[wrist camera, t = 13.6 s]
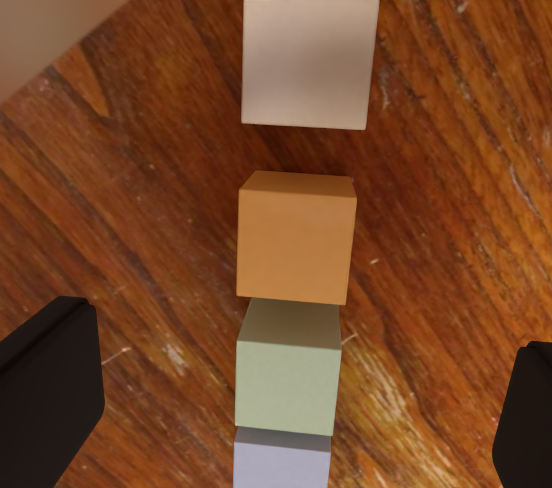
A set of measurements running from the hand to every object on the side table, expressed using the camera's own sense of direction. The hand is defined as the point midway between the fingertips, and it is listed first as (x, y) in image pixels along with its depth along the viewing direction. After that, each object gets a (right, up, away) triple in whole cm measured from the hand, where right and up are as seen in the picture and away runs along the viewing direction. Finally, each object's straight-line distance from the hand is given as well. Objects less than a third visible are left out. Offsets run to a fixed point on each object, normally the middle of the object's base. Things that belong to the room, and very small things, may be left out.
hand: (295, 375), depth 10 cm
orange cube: (+1, +4, +15) cm, 15 cm away
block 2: (+1, -3, +17) cm, 17 cm away
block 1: (+1, +12, +12) cm, 17 cm away
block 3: (0, -8, +19) cm, 21 cm away
